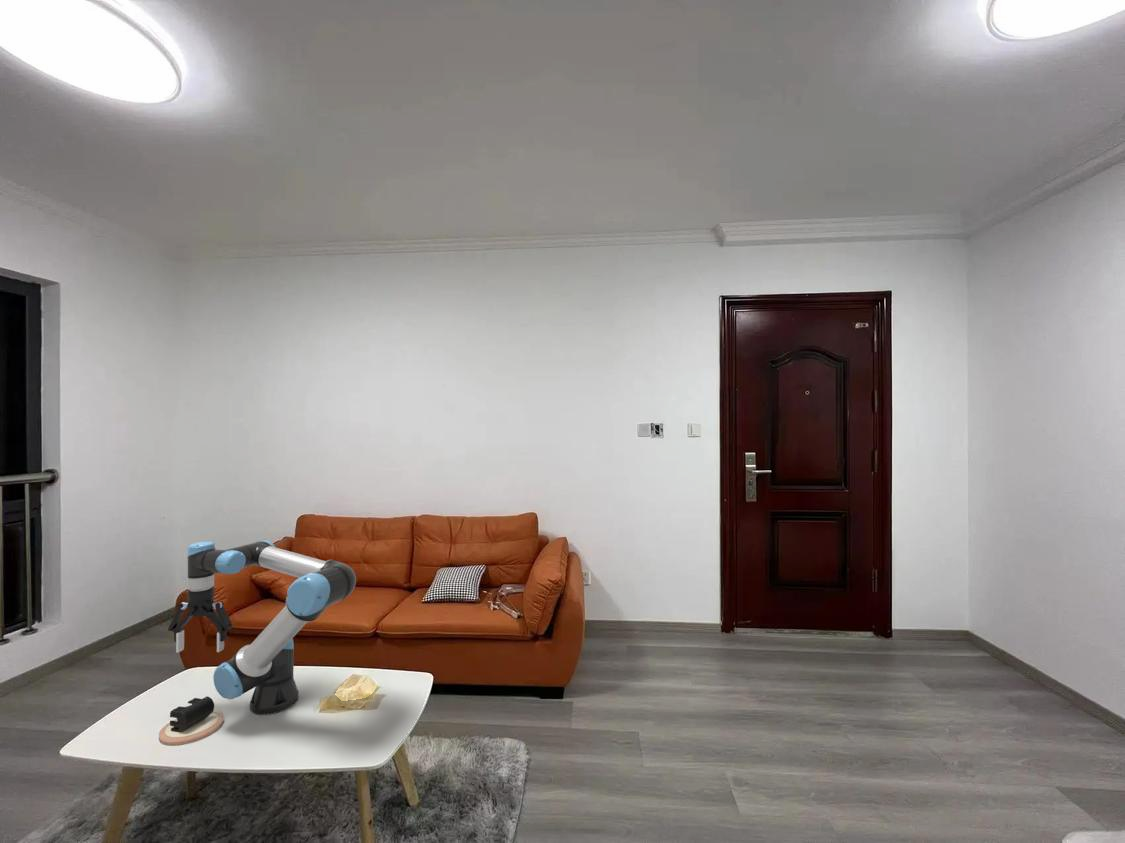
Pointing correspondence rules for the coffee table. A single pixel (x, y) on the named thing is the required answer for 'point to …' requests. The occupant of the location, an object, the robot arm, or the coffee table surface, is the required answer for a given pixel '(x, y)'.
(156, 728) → the coffee table surface
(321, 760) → the coffee table surface
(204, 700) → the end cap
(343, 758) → the coffee table surface
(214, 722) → the plate
